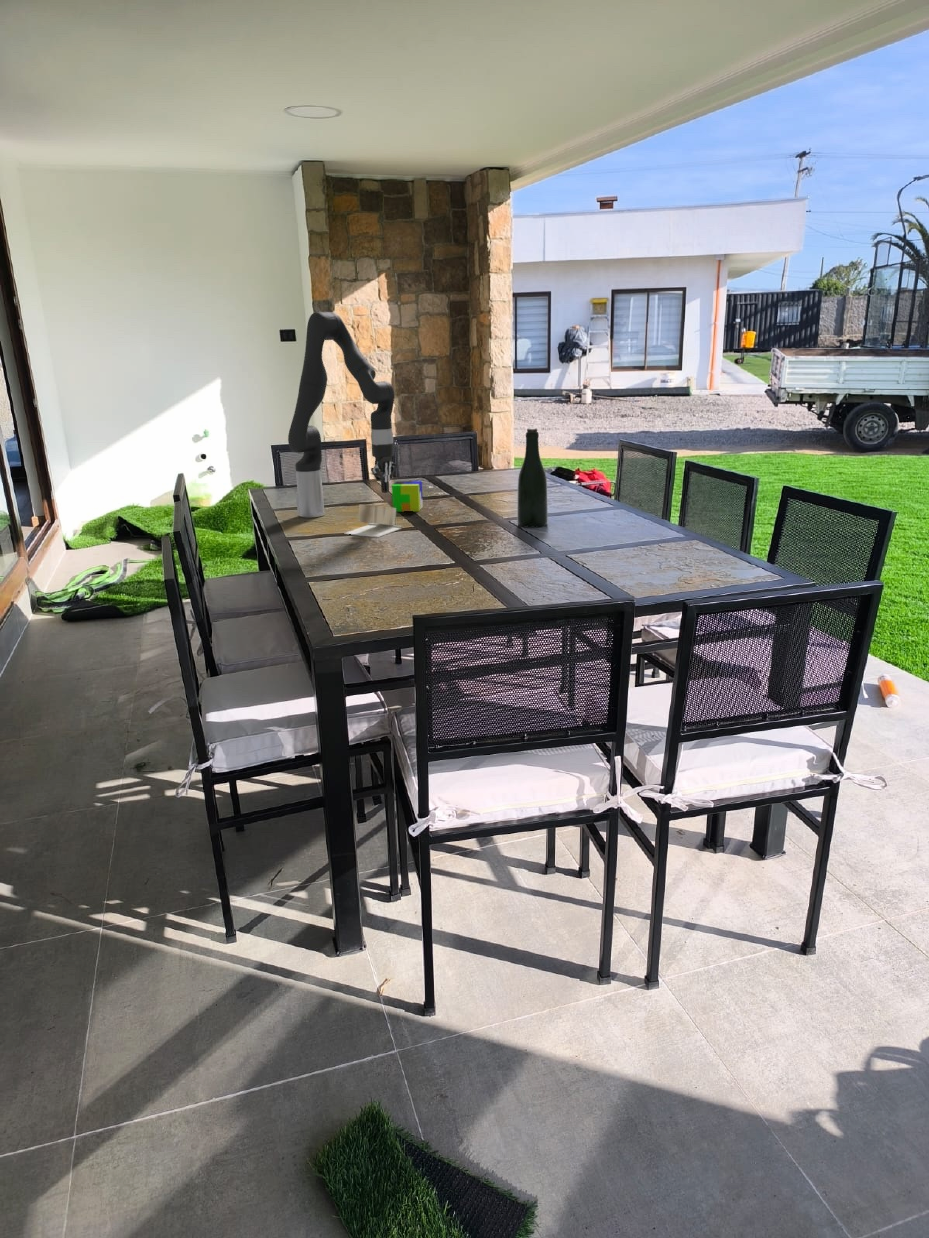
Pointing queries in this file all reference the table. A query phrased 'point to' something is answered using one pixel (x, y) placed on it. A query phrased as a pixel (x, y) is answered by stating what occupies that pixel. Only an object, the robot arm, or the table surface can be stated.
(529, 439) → the green wine bottle
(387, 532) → the mat
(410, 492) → the puzzle toy
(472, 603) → the table surface
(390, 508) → the maple block
